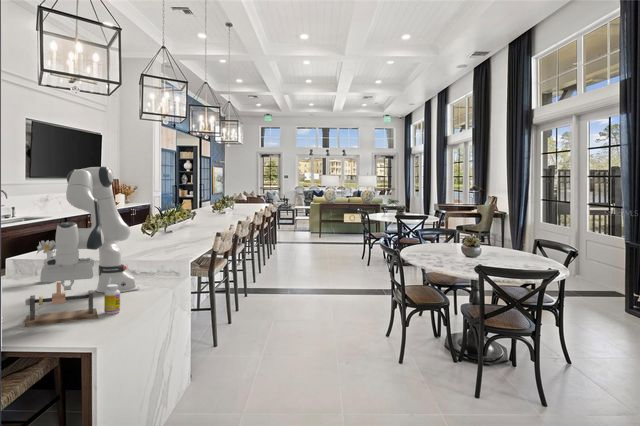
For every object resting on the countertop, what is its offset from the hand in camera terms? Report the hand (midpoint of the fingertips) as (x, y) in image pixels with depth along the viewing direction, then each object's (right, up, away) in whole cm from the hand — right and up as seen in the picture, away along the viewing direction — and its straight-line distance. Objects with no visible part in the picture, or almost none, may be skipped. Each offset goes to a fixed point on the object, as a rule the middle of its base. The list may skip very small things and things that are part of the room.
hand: (67, 290), depth 188 cm
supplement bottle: (+14, -13, +11) cm, 22 cm away
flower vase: (-50, -7, +65) cm, 83 cm away
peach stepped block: (-3, -5, -1) cm, 6 cm away
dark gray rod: (-3, -6, -1) cm, 6 cm away
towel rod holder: (-2, -13, 0) cm, 13 cm away
